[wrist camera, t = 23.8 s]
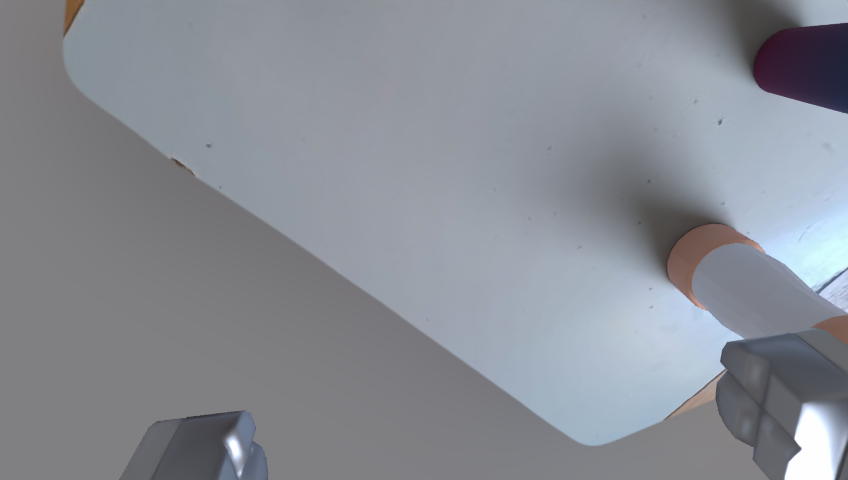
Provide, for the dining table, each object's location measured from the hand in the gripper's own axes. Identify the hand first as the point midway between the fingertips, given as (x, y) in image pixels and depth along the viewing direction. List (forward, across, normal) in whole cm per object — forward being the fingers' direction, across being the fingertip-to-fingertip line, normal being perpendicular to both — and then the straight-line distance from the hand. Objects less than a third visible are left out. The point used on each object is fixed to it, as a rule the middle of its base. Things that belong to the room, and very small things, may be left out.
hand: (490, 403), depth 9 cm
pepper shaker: (+34, -26, +18) cm, 47 cm away
